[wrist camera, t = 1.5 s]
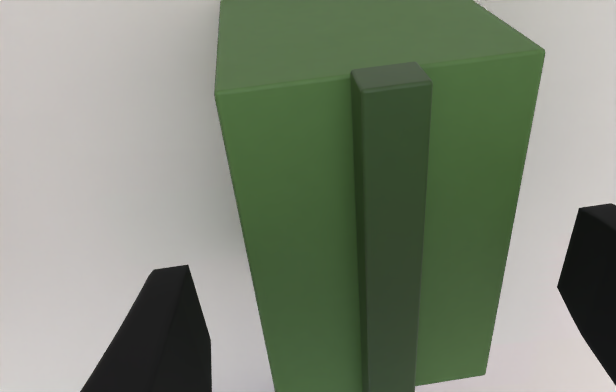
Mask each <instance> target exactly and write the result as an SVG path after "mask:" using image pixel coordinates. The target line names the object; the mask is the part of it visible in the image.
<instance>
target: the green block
mask: <svg viewBox="0 0 616 392" xmlns="http://www.w3.org/2000/svg"><path fill="white" fill-rule="evenodd" d="M544 57H545V50H544V49H543V48H542V47H540V46H539V45H537V44H536V43H534V42H533V41H531V40H530V39H528V38H527V37H526V36H524V35H523V34H521V33H520V32H518V31H517V30H515V29H514V28H512V27H511V26H509V25H508V24H507V23H505V22H504V21H502V20H501V19H499V18H498V17H496V16H495V15H493V14H492V13H490V12H489V11H487V10H486V9H485V8H483V7H482V6H480V5H479V4H477V3H476V2H474V1H473V0H222V1H221V2H220V16H219V31H218V46H217V61H216V76H215V91H214V96H215V101H216V106H217V111H218V116H219V120H220V125H221V130H222V135H223V140H224V145H225V150H226V155H227V159H228V164H229V169H230V174H231V179H232V184H233V189H234V194H235V198H236V203H237V208H238V213H239V218H240V223H241V228H242V233H243V237H244V242H245V247H246V252H247V257H248V262H249V267H250V272H251V276H252V281H253V286H254V291H255V296H256V301H257V306H258V311H259V315H260V320H261V325H262V330H263V335H264V340H265V345H266V349H267V354H268V359H269V364H270V369H271V374H272V379H273V384H274V388H275V392H415V386H419V385H426V384H432V383H438V382H444V381H450V380H457V379H463V378H469V377H475V376H482V375H485V373H486V367H487V362H488V357H489V351H490V346H491V341H492V335H493V330H494V324H495V319H496V314H497V308H498V303H499V298H500V292H501V287H502V282H503V276H504V271H505V266H506V260H507V255H508V250H509V244H510V239H511V234H512V228H513V223H514V218H515V212H516V207H517V201H518V196H519V191H520V185H521V180H522V175H523V169H524V164H525V159H526V153H527V148H528V143H529V137H530V132H531V127H532V121H533V116H534V111H535V105H536V100H537V94H538V89H539V84H540V78H541V73H542V68H543V62H544Z"/></svg>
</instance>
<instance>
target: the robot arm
mask: <svg viewBox="0 0 616 392" xmlns="http://www.w3.org/2000/svg"><path fill="white" fill-rule="evenodd" d="M557 288H558V290H559V292H560V294H561V296H562V298H563V300H564V302H565V304H566V306H567V308H568V310H569V312H570V314H571V316H572V318H573V320H574V322H575V324H576V326H577V327H578V329H579V331H580V333H581V335H582V336H583V338H584V340H585V341H586V343H587V344H588V346H589V347H590V349H591V350H592V352H593V353H594V354H595V356H596V357H597V359H598V360H599V362H600V363H601V365H602V366H603V368H604V369H605V371H606V372H607V374H608V375H609V376H610V378H611V379H612V381H613V382H614V384H615V385H616V205H613V204H604V205H597V206H590V207H583V208H579V210H578V214H577V217H576V221H575V225H574V228H573V232H572V235H571V239H570V243H569V246H568V250H567V253H566V257H565V261H564V264H563V268H562V271H561V275H560V279H559V282H558V286H557ZM80 392H212V377H211V339H210V336H209V333H208V329H207V326H206V323H205V319H204V316H203V313H202V309H201V306H200V303H199V299H198V296H197V293H196V289H195V286H194V283H193V279H192V276H191V273H190V269H189V266H188V265H183V266H176V267H169V268H162V269H155V270H153V271H152V272H151V274H150V275H149V276H148V278H147V280H146V282H145V284H144V286H143V288H142V289H141V291H140V293H139V295H138V297H137V298H136V300H135V302H134V304H133V306H132V307H131V309H130V311H129V313H128V315H127V316H126V318H125V320H124V321H123V323H122V325H121V327H120V328H119V330H118V332H117V334H116V335H115V337H114V339H113V340H112V342H111V343H110V345H109V347H108V348H107V350H106V352H105V353H104V355H103V356H102V358H101V360H100V361H99V363H98V365H97V366H96V368H95V369H94V371H93V373H92V374H91V376H90V377H89V379H88V381H87V382H86V384H85V385H84V387H83V388H82V390H81V391H80Z"/></svg>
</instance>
